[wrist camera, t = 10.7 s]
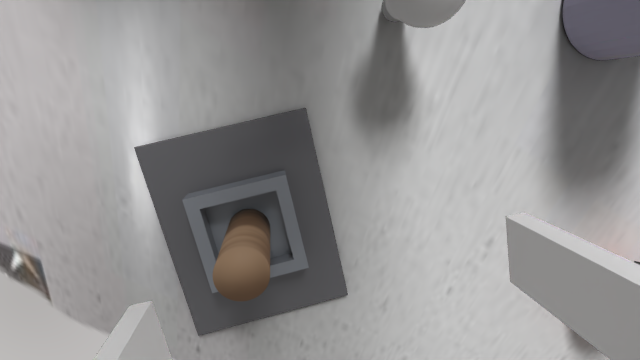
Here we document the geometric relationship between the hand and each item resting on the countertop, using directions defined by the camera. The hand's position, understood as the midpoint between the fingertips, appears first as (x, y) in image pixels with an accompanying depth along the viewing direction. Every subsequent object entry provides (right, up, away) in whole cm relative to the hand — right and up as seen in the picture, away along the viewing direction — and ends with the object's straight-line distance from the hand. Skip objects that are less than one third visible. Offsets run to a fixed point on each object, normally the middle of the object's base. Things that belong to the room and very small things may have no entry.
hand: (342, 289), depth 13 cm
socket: (-8, -1, +23) cm, 25 cm away
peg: (-8, -1, +22) cm, 24 cm away
